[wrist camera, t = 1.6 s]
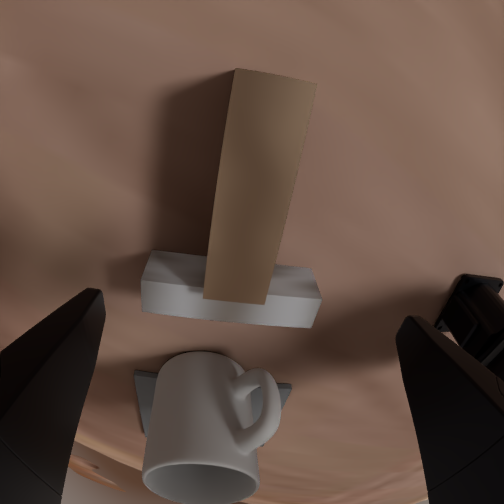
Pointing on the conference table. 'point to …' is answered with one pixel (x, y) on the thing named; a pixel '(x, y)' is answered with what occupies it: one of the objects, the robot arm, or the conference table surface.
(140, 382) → the mat
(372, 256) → the conference table surface
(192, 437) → the mug
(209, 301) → the panel
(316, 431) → the conference table surface
